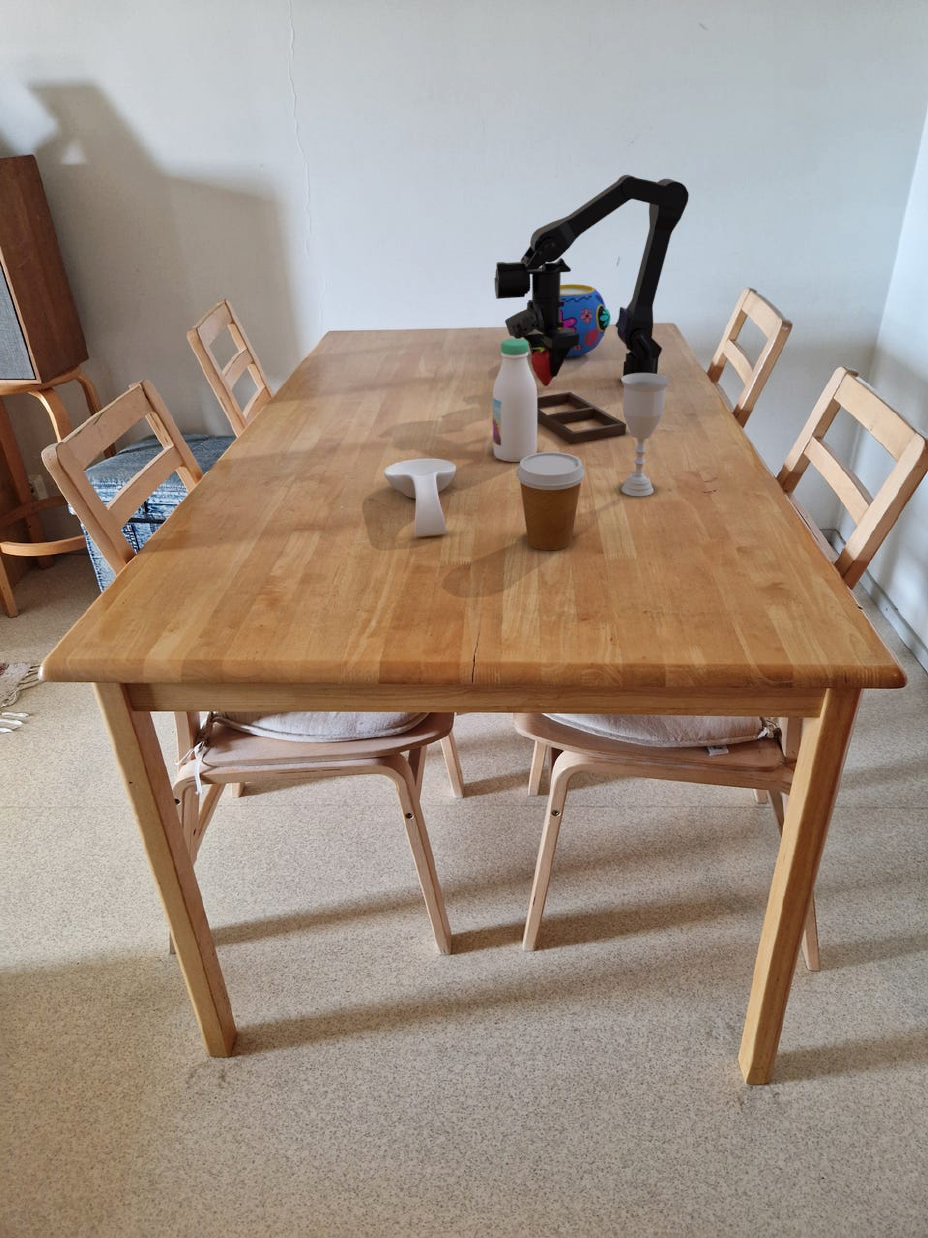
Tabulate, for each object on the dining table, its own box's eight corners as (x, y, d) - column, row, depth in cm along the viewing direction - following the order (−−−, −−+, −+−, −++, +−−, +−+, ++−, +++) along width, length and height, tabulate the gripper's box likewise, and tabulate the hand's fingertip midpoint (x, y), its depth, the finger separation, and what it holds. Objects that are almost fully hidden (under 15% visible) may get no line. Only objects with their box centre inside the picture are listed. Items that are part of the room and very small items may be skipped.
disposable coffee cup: (564, 561, 124) (566, 481, 118) (504, 546, 129) (503, 468, 123) (593, 534, 131) (597, 457, 125) (535, 521, 136) (536, 446, 129)
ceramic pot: (610, 363, 206) (614, 295, 198) (533, 366, 206) (533, 298, 198) (601, 343, 221) (604, 279, 213) (529, 346, 221) (530, 282, 213)
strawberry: (533, 392, 188) (533, 344, 183) (529, 381, 194) (529, 335, 189) (561, 390, 188) (562, 342, 183) (556, 380, 195) (557, 333, 189)
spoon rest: (383, 479, 152) (380, 439, 148) (452, 474, 153) (450, 433, 149) (393, 541, 132) (389, 496, 128) (472, 534, 133) (470, 489, 129)
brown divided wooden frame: (569, 401, 184) (570, 391, 183) (625, 434, 166) (626, 423, 165) (519, 409, 180) (519, 400, 179) (571, 444, 163) (571, 433, 162)
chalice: (663, 484, 146) (673, 374, 137) (657, 500, 141) (666, 387, 131) (618, 479, 148) (625, 371, 139) (610, 495, 143) (617, 384, 133)
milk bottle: (543, 450, 161) (544, 337, 150) (527, 465, 155) (527, 348, 145) (503, 445, 164) (502, 333, 153) (486, 459, 158) (484, 345, 147)
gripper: (491, 291, 187) (493, 366, 195) (530, 309, 172) (530, 389, 180) (539, 285, 190) (539, 359, 198) (581, 302, 175) (579, 381, 183)
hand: (545, 372), depth 190 cm, fingers closed on strawberry, 7 cm apart
